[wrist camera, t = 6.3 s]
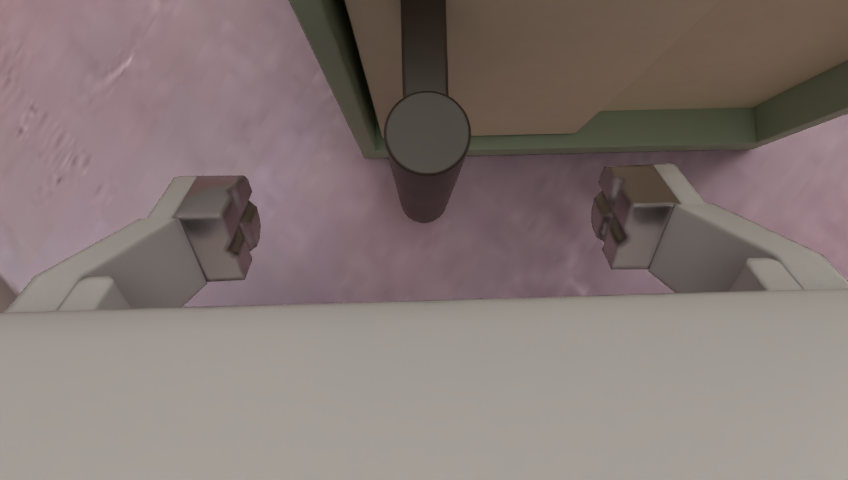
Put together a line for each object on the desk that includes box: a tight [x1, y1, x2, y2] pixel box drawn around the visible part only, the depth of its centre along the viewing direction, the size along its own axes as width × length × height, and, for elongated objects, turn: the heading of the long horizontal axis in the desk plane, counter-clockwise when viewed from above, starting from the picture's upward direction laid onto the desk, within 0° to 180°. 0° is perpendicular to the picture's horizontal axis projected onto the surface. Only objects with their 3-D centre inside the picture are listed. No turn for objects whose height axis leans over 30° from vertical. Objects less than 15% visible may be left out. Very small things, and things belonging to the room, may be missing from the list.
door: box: [344, 0, 721, 223], centre depth 13 cm, size 4×8×13 cm, turn 91°
